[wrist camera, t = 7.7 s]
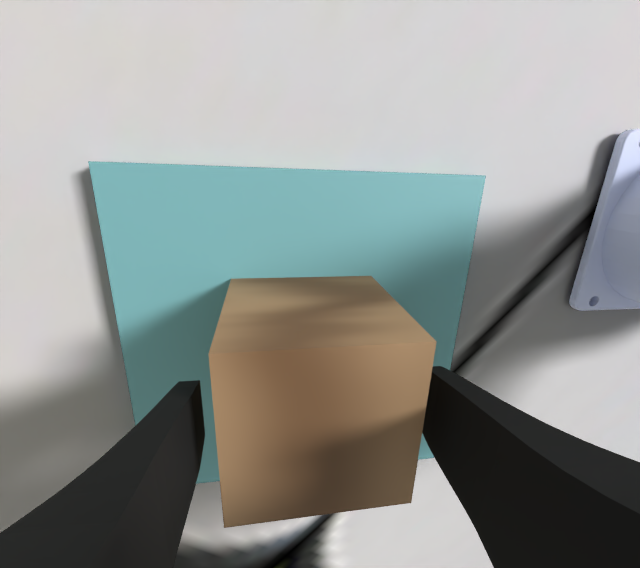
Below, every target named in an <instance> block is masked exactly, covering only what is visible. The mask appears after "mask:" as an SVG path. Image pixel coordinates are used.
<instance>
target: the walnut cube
mask: <svg viewBox="0 0 640 568" xmlns="http://www.w3.org/2000/svg"><path fill="white" fill-rule="evenodd" d="M436 342H437V341H436V340H435V339H434V338H433V337H432V336H431V335H430V334H429V333H428V332H427V331H426V330H425V329H424V328H423V327H422V326H421V325H420V324H419V323H418V322H417V321H416V320H415V319H414V318H413V317H412V316H411V315H410V314H409V313H408V312H407V311H406V310H405V309H404V308H403V307H402V306H401V305H400V304H399V303H398V302H397V301H396V300H395V299H394V298H393V297H392V296H391V295H390V294H389V293H388V292H387V291H386V290H385V289H384V288H383V287H382V286H381V285H380V284H379V283H378V282H377V281H376V280H375V279H374V278H373V277H372V276H336V277H287V278H238V279H231V281H230V284H229V288H228V291H227V294H226V297H225V301H224V304H223V307H222V311H221V314H220V317H219V321H218V324H217V327H216V331H215V334H214V337H213V341H212V344H211V347H210V350H209V354H208V355H209V366H210V377H211V388H212V399H213V410H214V421H215V432H216V443H217V454H218V465H219V476H220V487H221V499H222V510H223V521H224V528H226V527H234V526H241V525H248V524H256V523H263V522H271V521H278V520H286V519H293V518H301V517H308V516H316V515H323V514H331V513H338V512H346V511H353V510H361V509H368V508H376V507H383V506H391V505H398V504H406V503H411V500H412V493H413V487H414V481H415V475H416V468H417V462H418V456H419V449H420V443H421V437H422V430H423V424H424V418H425V412H426V405H427V399H428V393H429V386H430V380H431V374H432V367H433V361H434V355H435V349H436Z"/></svg>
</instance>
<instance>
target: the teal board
mask: <svg viewBox="0 0 640 568" xmlns="http://www.w3.org/2000/svg"><path fill="white" fill-rule="evenodd" d="M88 163H89V168H90V174H91V179H92V185H93V191H94V196H95V202H96V207H97V213H98V219H99V224H100V230H101V235H102V241H103V247H104V252H105V258H106V263H107V269H108V275H109V280H110V286H111V291H112V297H113V303H114V308H115V314H116V319H117V325H118V331H119V336H120V342H121V347H122V353H123V359H124V364H125V370H126V375H127V381H128V387H129V392H130V398H131V403H132V409H133V415H134V420H135V426H136V425H137V424H138V423H139V422H140V421H141V420H142V419H143V418H144V417H145V416H146V415H147V414H148V413H149V412H150V411H151V410H152V409H153V408H154V407H155V406H156V404H157V403H158V402H159V401H160V400H161V399H162V398H163V397H164V396H165V395H166V394H167V393H168V392H169V391H170V390H171V389H172V388H173V387H174V386H175V385H176V384H177V383H178V382H179V381H194V380H200V386H201V396H202V406H203V417H204V427H205V440H204V446H203V453H202V459H201V465H200V470H199V474H198V478H197V481H196V484H197V483H206V482H215V481H220V476H219V465H218V454H217V443H216V432H215V421H214V410H213V399H212V388H211V377H210V366H209V355H208V354H209V350H210V347H211V344H212V341H213V337H214V334H215V331H216V327H217V324H218V321H219V317H220V314H221V311H222V307H223V304H224V301H225V297H226V294H227V291H228V288H229V284H230V281H231V279H238V278H287V277H336V276H372V277H373V278H374V279H375V280H376V281H377V282H378V283H379V284H380V285H381V286H382V287H383V288H384V289H385V290H386V291H387V292H388V293H389V294H390V295H391V296H392V297H393V298H394V299H395V300H396V301H397V302H398V303H399V304H400V305H401V306H402V307H403V308H404V309H405V310H406V311H407V312H408V313H409V314H410V315H411V316H412V317H413V318H414V319H415V320H416V321H417V322H418V323H419V324H420V325H421V326H422V327H423V328H424V329H425V330H426V331H427V332H428V333H429V334H430V335H431V336H432V337H433V338H434V339H435V340H436V341H437V342H436V349H435V355H434V361H433V366H442V367H444V368H446V369H448V370H450V368H451V362H452V357H453V351H454V346H455V340H456V335H457V330H458V324H459V319H460V313H461V308H462V302H463V297H464V292H465V286H466V281H467V275H468V270H469V264H470V259H471V254H472V248H473V243H474V237H475V232H476V226H477V221H478V216H479V210H480V205H481V199H482V194H483V188H484V183H485V178H486V176H482V175H454V174H426V173H398V172H370V171H342V170H314V169H286V168H258V167H230V166H203V165H175V164H147V163H119V162H91V161H88ZM427 458H434V455H433V454H432V452H431V450H430V448H429V447H428V444H427V442H426V440H425V438H424V435H423V433H422V437H421V443H420V449H419V456H418V459H427Z"/></svg>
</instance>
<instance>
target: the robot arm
mask: <svg viewBox="0 0 640 568" xmlns="http://www.w3.org/2000/svg"><path fill="white" fill-rule="evenodd" d="M639 142H640V129H631V130H626V131H624V132H622V133H621V134H620V135H619V137H618V138H617V140H616V143H615V146H614V149H613V153H612V156H611V160H610V163H609V166H608V170H607V173H606V177H605V180H604V183H603V187H602V190H601V194H600V197H599V200H598V204H597V207H596V211H595V214H594V217H593V221H592V224H591V228H590V231H589V234H588V238H587V241H586V245H585V248H584V251H583V255H582V258H581V262H580V265H579V268H578V272H577V275H576V279H575V282H574V285H573V289H572V292H571V296H570V299H569V304H570V306H571V307H572V308H574V309H576V310H580V311H587V310H615V309H640V145H639ZM422 433H423V435H424V438H425V440H426V442H427V444H428V447H429V448H430V450H431V452H432V454H433V455H434V457H435V459H436V461H437V462H438V464H439V466H440V468H441V469H442V471H443V473H444V475H445V476H446V478H447V480H448V481H449V483H450V485H451V486H452V488H453V490H454V492H455V493H456V495H457V497H458V498H459V500H460V502H461V504H462V505H463V507H464V509H465V510H466V512H467V514H468V516H469V518H470V519H471V521H472V523H473V525H474V527H475V529H476V531H477V533H478V535H479V537H480V539H481V541H482V543H483V545H484V548H485V550H486V552H487V554H488V556H489V558H490V560H491V562H492V565H493V567H494V568H640V462H637V461H634V460H632V459H629V458H626V457H624V456H621V455H618V454H616V453H613V452H611V451H608V450H606V449H603V448H600V447H598V446H595V445H593V444H591V443H588V442H586V441H583V440H581V439H579V438H577V437H574V436H572V435H570V434H568V433H565V432H563V431H561V430H559V429H557V428H554V427H552V426H550V425H548V424H546V423H544V422H542V421H540V420H538V419H536V418H534V417H532V416H530V415H528V414H526V413H525V412H523V411H521V410H519V409H517V408H515V407H513V406H511V405H510V404H508V403H506V402H504V401H502V400H501V399H499V398H497V397H495V396H494V395H492V394H490V393H488V392H487V391H485V390H483V389H481V388H480V387H478V386H476V385H475V384H473V383H471V382H469V381H468V380H466V379H464V378H463V377H461V376H459V375H457V374H456V373H454V372H452V371H450V370H448V369H446V368H444V367H442V366H433V367H432V374H431V380H430V386H429V393H428V399H427V405H426V412H425V418H424V424H423V430H422ZM204 440H205V427H204V417H203V406H202V396H201V386H200V380H194V381H179V382H178V383H177V384H176V385H175V386H174V387H173V388H172V389H171V390H170V391H169V392H168V393H167V394H166V395H165V396H164V397H163V398H162V399H161V400H160V401H159V402H158V403H157V404H156V406H155V407H154V408H153V409H152V410H151V411H150V412H149V413H148V414H147V415H146V416H145V417H144V418H143V419H142V420H141V421H140V422H139V423H138V424H137V425H136V426H135V427H134V428H133V429H132V430H131V431H130V432H129V433H128V434H127V435H125V436H124V437H123V438H122V439H121V440H120V441H119V442H118V443H117V444H116V445H115V446H113V447H112V448H111V449H110V450H109V451H108V452H107V453H106V454H105V455H104V456H102V457H101V458H100V459H99V460H98V461H97V462H95V463H94V464H93V465H92V466H91V467H89V468H88V469H87V470H86V471H85V472H83V473H82V474H81V475H80V476H78V477H77V478H76V479H74V480H73V481H72V482H71V483H69V484H68V485H67V486H66V487H64V488H63V489H62V490H60V491H59V492H58V493H56V494H55V495H54V496H52V497H51V498H49V499H48V500H47V501H45V502H44V503H42V504H41V505H40V506H38V507H37V508H35V509H34V510H33V511H31V512H30V513H28V514H27V515H25V516H24V517H23V518H21V519H20V520H18V521H17V522H16V523H14V524H13V525H11V526H10V527H8V528H7V529H6V530H4V531H3V532H1V533H0V568H173V567H174V563H175V558H176V554H177V550H178V547H179V543H180V539H181V536H182V532H183V529H184V525H185V521H186V518H187V514H188V511H189V507H190V503H191V500H192V496H193V492H194V489H195V485H196V481H197V478H198V474H199V470H200V465H201V459H202V453H203V446H204Z"/></svg>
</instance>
